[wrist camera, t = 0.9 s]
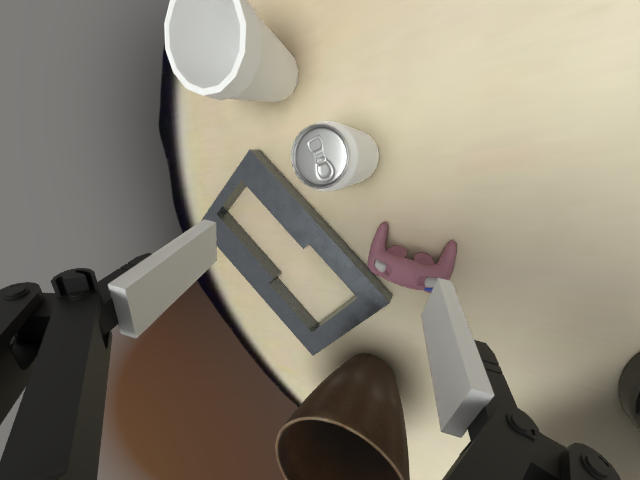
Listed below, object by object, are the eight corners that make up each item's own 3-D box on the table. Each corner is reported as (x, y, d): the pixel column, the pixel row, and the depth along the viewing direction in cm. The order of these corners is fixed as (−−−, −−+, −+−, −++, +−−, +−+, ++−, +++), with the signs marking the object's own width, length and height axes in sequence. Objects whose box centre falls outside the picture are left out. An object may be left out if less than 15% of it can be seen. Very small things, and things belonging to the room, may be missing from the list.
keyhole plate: (392, 294, 38) (389, 303, 36) (318, 346, 46) (312, 355, 43) (260, 150, 40) (249, 149, 38) (209, 221, 47) (198, 224, 45)
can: (340, 190, 37) (301, 203, 27) (323, 143, 36) (276, 137, 26) (386, 172, 34) (364, 178, 24) (369, 121, 34) (338, 104, 23)
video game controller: (375, 242, 39) (359, 278, 34) (380, 217, 36) (363, 254, 31) (449, 263, 36) (442, 306, 31) (461, 238, 33) (455, 282, 28)
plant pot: (319, 389, 48) (269, 486, 34) (332, 317, 43) (281, 395, 29) (406, 429, 43) (390, 561, 29) (432, 354, 38) (429, 468, 24)
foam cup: (238, 54, 38) (151, 7, 26) (296, 18, 34) (223, -55, 22) (260, 124, 39) (186, 110, 28) (318, 98, 35) (259, 69, 24)
